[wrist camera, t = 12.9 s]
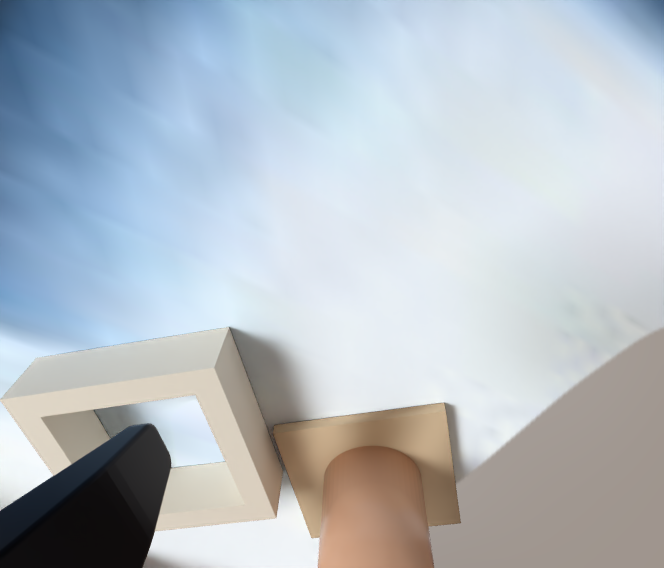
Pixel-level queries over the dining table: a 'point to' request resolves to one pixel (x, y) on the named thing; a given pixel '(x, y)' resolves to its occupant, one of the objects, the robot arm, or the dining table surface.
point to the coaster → (371, 430)
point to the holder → (150, 385)
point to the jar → (373, 512)
